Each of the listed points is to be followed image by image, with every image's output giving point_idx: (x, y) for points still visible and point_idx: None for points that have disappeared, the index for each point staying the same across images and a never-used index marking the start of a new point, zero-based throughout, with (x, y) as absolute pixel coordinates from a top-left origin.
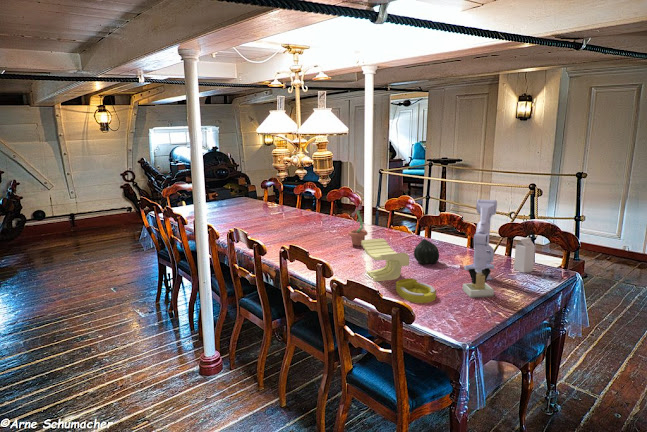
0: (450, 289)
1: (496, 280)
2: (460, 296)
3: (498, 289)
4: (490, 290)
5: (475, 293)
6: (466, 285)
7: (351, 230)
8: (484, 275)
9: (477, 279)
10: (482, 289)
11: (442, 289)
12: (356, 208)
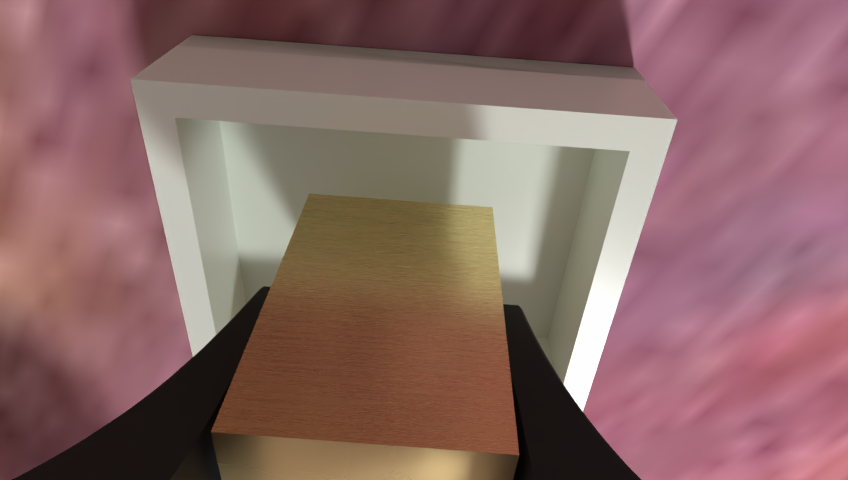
0: (705, 383)
1: (9, 469)
2: (762, 154)
3: (36, 266)
4: (219, 79)
5: (559, 87)
6: (572, 357)
7: None
8: (232, 439)
9: (469, 358)
10: None
11: (807, 400)
12: None
